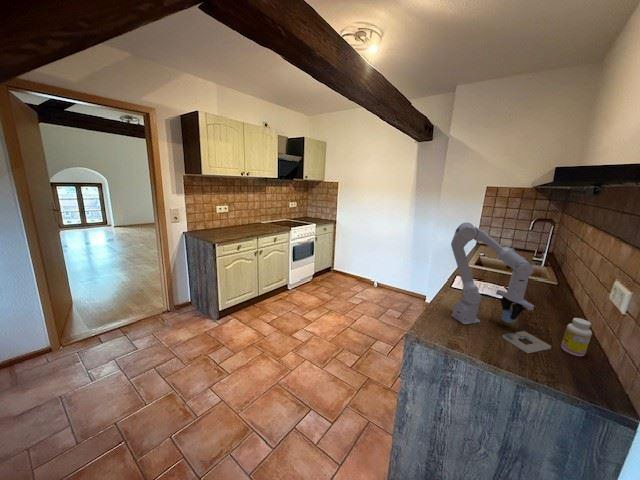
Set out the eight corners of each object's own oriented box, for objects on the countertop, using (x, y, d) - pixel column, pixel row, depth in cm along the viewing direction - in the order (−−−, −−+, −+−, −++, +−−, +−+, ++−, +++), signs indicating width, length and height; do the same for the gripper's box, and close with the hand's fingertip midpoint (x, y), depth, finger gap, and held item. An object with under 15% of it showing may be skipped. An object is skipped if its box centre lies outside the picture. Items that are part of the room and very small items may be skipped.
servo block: (507, 322, 108) (510, 312, 107) (500, 319, 111) (503, 308, 110) (516, 321, 109) (519, 311, 108) (509, 318, 112) (512, 307, 111)
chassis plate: (527, 353, 94) (528, 350, 94) (502, 337, 104) (502, 334, 103) (550, 348, 98) (551, 346, 97) (523, 333, 107) (524, 331, 107)
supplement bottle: (559, 343, 101) (568, 314, 98) (583, 350, 97) (593, 320, 94) (561, 351, 96) (570, 321, 93) (585, 359, 92) (596, 328, 89)
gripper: (542, 294, 101) (533, 325, 104) (507, 280, 114) (500, 307, 118) (529, 296, 99) (521, 327, 102) (495, 281, 112) (488, 309, 116)
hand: (509, 316), depth 110 cm, fingers closed on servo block, 3 cm apart
